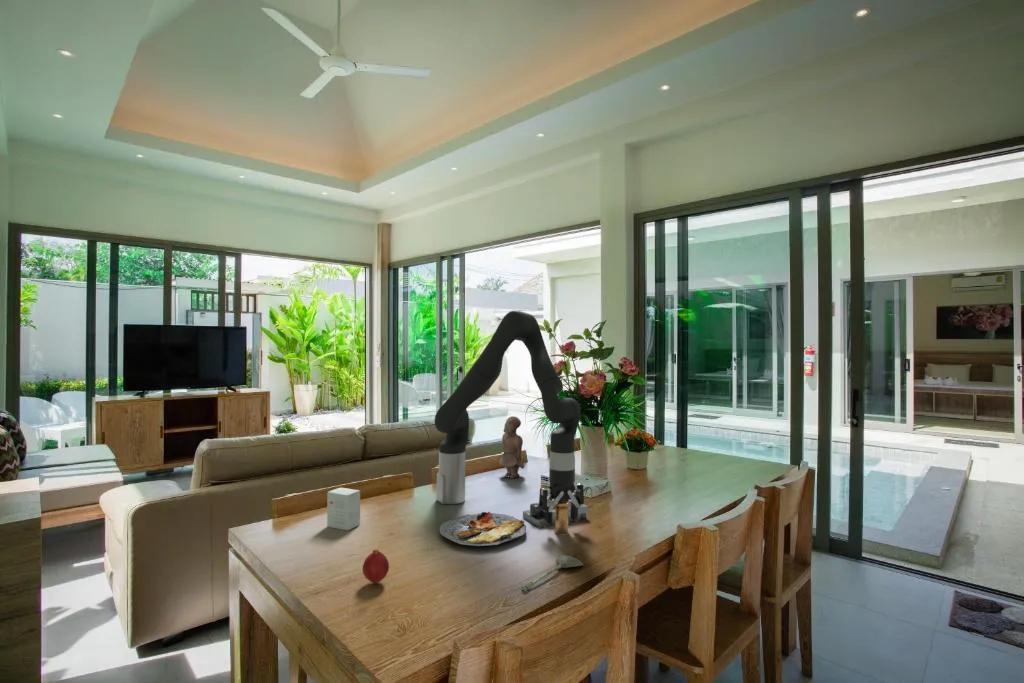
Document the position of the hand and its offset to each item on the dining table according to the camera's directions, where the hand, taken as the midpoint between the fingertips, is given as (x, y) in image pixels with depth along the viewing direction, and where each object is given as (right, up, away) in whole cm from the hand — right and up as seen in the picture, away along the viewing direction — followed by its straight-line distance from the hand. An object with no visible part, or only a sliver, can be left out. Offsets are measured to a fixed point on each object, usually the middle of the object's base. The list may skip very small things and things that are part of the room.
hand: (561, 521), depth 151 cm
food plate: (-23, -3, -2) cm, 23 cm away
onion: (-46, -3, -33) cm, 57 cm away
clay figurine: (-14, -3, +61) cm, 63 cm away
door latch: (-1, -3, +12) cm, 12 cm away
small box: (-65, -3, +3) cm, 65 cm away
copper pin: (0, -3, 0) cm, 3 cm away
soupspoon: (-5, -4, -28) cm, 28 cm away
